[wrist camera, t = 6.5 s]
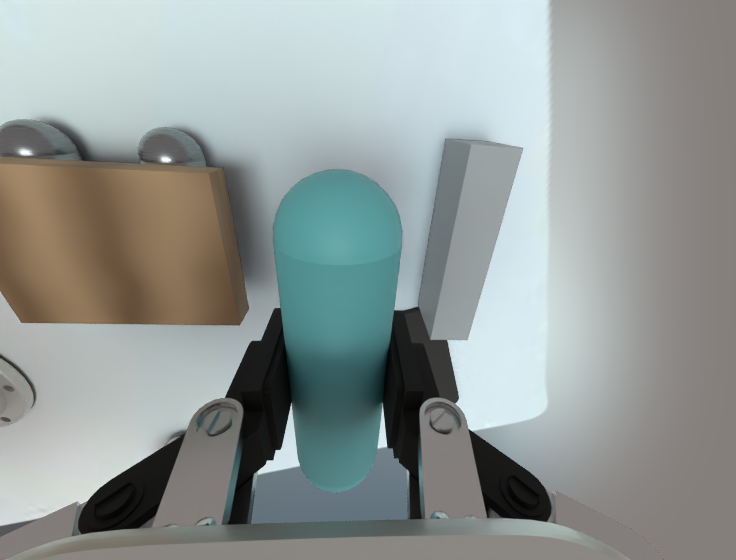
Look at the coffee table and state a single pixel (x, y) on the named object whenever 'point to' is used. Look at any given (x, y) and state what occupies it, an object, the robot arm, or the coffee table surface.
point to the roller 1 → (35, 141)
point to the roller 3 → (337, 318)
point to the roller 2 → (170, 148)
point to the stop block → (464, 232)
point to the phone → (434, 355)
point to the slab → (118, 243)
